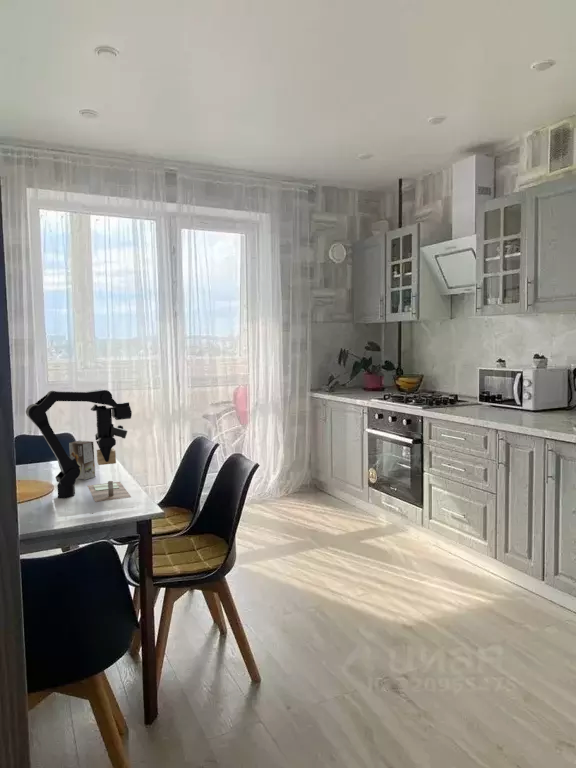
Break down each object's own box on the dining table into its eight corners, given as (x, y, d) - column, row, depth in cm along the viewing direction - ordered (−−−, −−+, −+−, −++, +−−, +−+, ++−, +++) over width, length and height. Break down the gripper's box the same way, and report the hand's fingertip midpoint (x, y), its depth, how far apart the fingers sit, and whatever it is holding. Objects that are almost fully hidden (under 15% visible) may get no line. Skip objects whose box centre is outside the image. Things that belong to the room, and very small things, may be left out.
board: (131, 500, 215) (130, 483, 214) (95, 505, 209) (94, 487, 209) (120, 484, 240) (119, 469, 239) (87, 488, 234) (86, 472, 234)
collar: (115, 463, 225) (115, 450, 224) (98, 465, 222) (98, 452, 222) (114, 460, 231) (113, 448, 230) (97, 462, 228) (96, 449, 228)
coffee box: (96, 476, 256) (94, 441, 254) (85, 480, 250) (83, 443, 249) (81, 475, 260) (79, 440, 259) (70, 478, 254) (68, 442, 253)
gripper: (128, 422, 220) (130, 462, 221) (122, 417, 237) (124, 454, 238) (98, 424, 215) (100, 465, 216) (94, 419, 233) (96, 456, 234)
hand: (106, 460), depth 226 cm, fingers closed on collar, 6 cm apart
